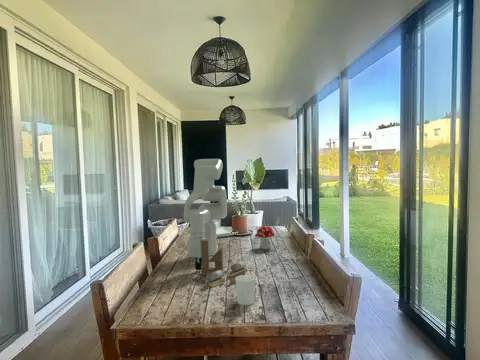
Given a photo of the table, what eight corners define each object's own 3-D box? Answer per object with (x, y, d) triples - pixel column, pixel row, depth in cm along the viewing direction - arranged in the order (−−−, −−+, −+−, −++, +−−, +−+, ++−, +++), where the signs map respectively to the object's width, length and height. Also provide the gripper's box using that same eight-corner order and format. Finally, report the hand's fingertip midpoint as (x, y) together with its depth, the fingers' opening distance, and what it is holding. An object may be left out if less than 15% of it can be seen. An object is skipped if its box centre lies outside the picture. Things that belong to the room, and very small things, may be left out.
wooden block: (222, 276, 176) (221, 240, 175) (201, 275, 177) (200, 240, 176) (223, 273, 180) (222, 239, 179) (202, 273, 181) (201, 239, 180)
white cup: (235, 298, 146) (234, 275, 146) (254, 297, 147) (253, 274, 146) (236, 306, 139) (236, 281, 138) (256, 305, 139) (255, 280, 139)
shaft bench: (205, 285, 164) (204, 273, 163) (239, 270, 184) (239, 260, 184) (220, 289, 158) (220, 277, 157) (254, 273, 178) (254, 263, 178)
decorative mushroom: (251, 250, 225) (251, 227, 225) (258, 245, 238) (258, 223, 237) (272, 251, 220) (272, 228, 219) (278, 246, 233) (278, 224, 232)
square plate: (206, 240, 259) (206, 235, 259) (193, 234, 283) (193, 229, 283) (239, 236, 272) (238, 231, 271) (224, 230, 296) (224, 225, 296)
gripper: (182, 234, 185) (183, 268, 186) (202, 237, 176) (203, 273, 177) (192, 232, 191) (193, 265, 192) (212, 235, 182) (213, 270, 183)
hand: (198, 269), depth 184 cm, fingers closed
